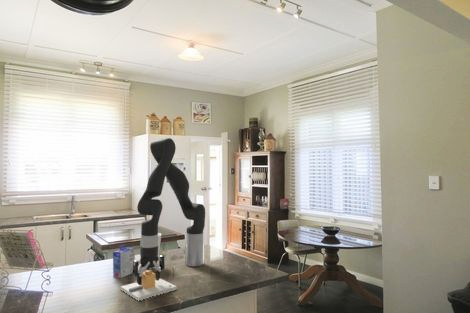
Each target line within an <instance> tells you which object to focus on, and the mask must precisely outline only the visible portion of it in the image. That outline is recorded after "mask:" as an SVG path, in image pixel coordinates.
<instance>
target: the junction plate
mask: <svg viewBox="0 0 470 313" xmlns="http://www.w3.org/2000/svg"><path fill="white" fill-rule="evenodd" d="M121 290H122V291H121ZM176 290H177V285H174V284H173V283H170V282H169V281H166V280H164V279H162V278H160V279H159V280H158V281H157V280H156V279H155V287H151V288H147V289H145V288H144V287H143V286H141V285H138V283H137V281H136V282H133V283H129V284H124V285H122V286H121V285H120V291H121V292H123V291H124V292H125V293H124V292H123V293H124V294H126V293H127V294H126V295H128V296H129V295H130V296H129V297H131V296H132V297H133V299H134V298H135V299H136V300H135V299H134V300H135V301H137V300H138V301H137V302H140V301H139V300H141V301H144V300H143V299H145V300H147V299H146V298H148V299H150V298H149V297H151V298H153V297H152V296H154V297H157V296H156V295H158V296H160V294H161V295H163V293H164V294H167V293H171V292H173V291H176ZM170 291H171V292H170ZM132 297H131V298H132Z"/></svg>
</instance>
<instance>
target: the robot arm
mask: <svg viewBox="0 0 470 313" xmlns="http://www.w3.org/2000/svg"><path fill="white" fill-rule="evenodd" d="M149 148H150V152H151V156H152V157H153V158H154V160H155V161H156V163H157V166H156V167H155V168H154V170H152V171H151V173H150V175H149V178H148V181H147V185H146V187H145V188H146V189H145V190H144V192H143V194H142V196H141V198H140V199H139V201H138V202H137V203H138V204H137V207H136V210H137V212H138V214H139V215H141V216H152V217H151V219H148V220H143V221H142V222H141V225H140V226H141V228H140V229H141V232H140V233H141V235H140V242H139V243H140V245H139V247H140V249H139V251H140V252H139V253H140V256H139V257H140V258H139V260H134V261H133V272H132V275H133V276H135V277H136V282H137V283H138V285H142V276H141V275H142V274H143V273H145V271H146V270H151V269H150V268H152V269H155V272H154V273H155V279H156V280H157V281H158V280H159V279H161V271H162V270H165V266H166V265H165V256H164V255H161V254H159V256H158V233H159V222H160V218H161V215H162V211H163V203H162V201H161V199H157V197H160V196H161V195H162V191H163V189H164V188H163V187H164V183H165V179H167V182H168V184H169V186H170V187H171V189H172V191H173V193H174V196H175V197H176V200H177V201H178V203H179V205H180V209H181V211H182V214H183V215H184V218H186V219H187V220H189V221H193V224H192V225H189V226H188V227H186V243H185V244H186V246H184V247H185V251H184V252H185V255H184V263H185V265H186V266H187V267H188V266H189V267H200V266H203V264H204V230H205V225H206V224H205V223H206V207H205V206H204V205H203V203H202V204H201V203H196V202H195V203H193V202H192V201H191V199H190V196H189V192H190V191H189V189H190V182H189V180H188V178H187V176H186V174H185V173H184V171H183V170H181V168H179V167H178V166H176V165H175V164H174V163H172V162H173V159H174V157H175V153H176V149H177V147H176V144H175V141H174V140H173V139H172V138H171V137H168V138H167V137H166V138H162V139H161V138H160V139H156V140H153V141H151V143H150V145H149ZM157 261H158V264H157ZM153 267H154V268H153Z"/></svg>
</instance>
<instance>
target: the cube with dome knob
mask: <svg viewBox="0 0 470 313" xmlns="http://www.w3.org/2000/svg"><path fill="white" fill-rule="evenodd" d="M141 276H142V285H141V286H143V287H144V288H145V289H147V288H151V287H155V272H153V270H152V269H146V270H145V272H143V274H142V275H141Z"/></svg>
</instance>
